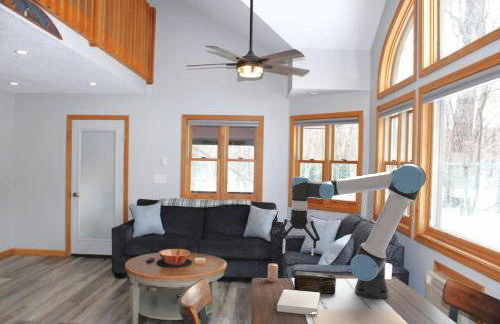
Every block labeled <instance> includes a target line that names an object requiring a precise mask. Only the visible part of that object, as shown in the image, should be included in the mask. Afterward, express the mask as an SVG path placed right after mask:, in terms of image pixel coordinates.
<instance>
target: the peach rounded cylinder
mask: <svg viewBox="0 0 500 324" xmlns="http://www.w3.org/2000/svg"><path fill="white" fill-rule="evenodd" d="M278 271H279V265H278V263H267V281H268V282H271V283H277V282H278V276H279V275H278V273H279V272H278Z"/></svg>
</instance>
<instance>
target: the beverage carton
mask: <svg viewBox="0 0 500 324" xmlns="http://www.w3.org/2000/svg"><path fill="white" fill-rule="evenodd" d="M293 280H294V281H293V287H294V288H293V290H297V291H308V292H319V293H320V294H321V293H322V294H335V295H336V286H337V285H336V284H337V276H336V274H333V273H321V272H311V271H310V272H309V271H295V274H294V279H293Z"/></svg>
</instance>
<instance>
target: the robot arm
mask: <svg viewBox="0 0 500 324" xmlns="http://www.w3.org/2000/svg"><path fill="white" fill-rule="evenodd" d="M426 181H427V174H426V172H425V170H424V168H422V167H421V166H420V165H418V164H415V163H414V164H412V163H404V164H402V165H399V166H398V167H397V168H392V169H391V171H387V172H379V173H372V174H367V175H360V176H353V177H348V178H347V177H346V178H345V177H344V178H341V179H333V180H332V179H331V180H326V181H309V177H308V176H294V177H292V183H291V211H290V212H291V213H290V219H289V218H287V217H286V218H285V219H284V220H283V224H282V226H281V228H280V230H279V232H277V235H276V237H277V239H280V246H281V247H282V254H285V253H286V238H285V237H286V236H288V234H289V233H290V232H291V231H292V230H293V229H295V230H304V231H305V232H306V233H307V235H308V236H309V237H310V239H311V240H312V241H311V252H310V253H311V256H312V257H313V256H314V249H316V248H317V242H318V241H320V240H321V237H320V235H319V233H318V230H317V228H316V227H315V221H314V219H311V220H308V200H309V199H310V198H314V199H323V200H331V199H333V197H334V196H341V195H349V194H357V193H359V194H360V193H366V192H374V191H382V190H387V189H388V194H389V195H388V196H387V198H386V199H385V200H386V201H385V202H384V205H383V207H382V209H381V210H380V213H379V214H378V217H377V219H376V221H375V223H374V225H373V227H372V229H371V231H370V232H369V234H368V235H369V236H368V237H367V239H366V241H365V242H363V243H362V242H361V244H359V247H358V249H357V251H356V254H355V255H354V256H353V258H352V259H351V260H350V265H349V267H350V271H351V273H352V276H354V277H355V278H356V279H357V281H356V284H355V286H354V293H355V294H356V295H357V294H358V295H357V296H359V295H360V296H359V297H362V296H363V297H362V298H365V297H366V299H371V298H372V299H373V300H382V299H387V298H389V288H388V284H387V282H386V258H387V251H386V250H387V248H388V245H389V243H390V242H391V240H392V238H393V236H394V233H395V231H396V230H397V227H398V226H399V224H400V222H401V219H402V218H403V216H404V214H405V212H406V210H407V209H408V206H409V204H410V203H411V202H415V200H416V198H417V197H418V195H419V193H420V191H421V189H422V188H423V186H425V183H426ZM289 223H290V224H291V225H290V227H289V228H288V229H287V230H286V231H285V232H284V233H283V231H284V230H285V228H286V227H287V224H289ZM308 224H309V226H311V229H312V231H313V233H314V235H313V233H312V232H311V230H310V229H309V227H308V226H307V225H308ZM282 233H283V234H282ZM372 299H371V300H372Z"/></svg>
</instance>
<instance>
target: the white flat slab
mask: <svg viewBox="0 0 500 324" xmlns="http://www.w3.org/2000/svg"><path fill="white" fill-rule="evenodd" d="M320 299H321V293H319V292H308V291H297V290H294V289H284V288H283V290H282V293H281V295H280V297H279V299H278V302H277V303H276V304H277V305H276V311H277V312H280V313H291V314H299V315H307V314H310V313H312V312H317V310H318V311H319V307H318V306H320ZM317 313H318V312H317Z"/></svg>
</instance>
